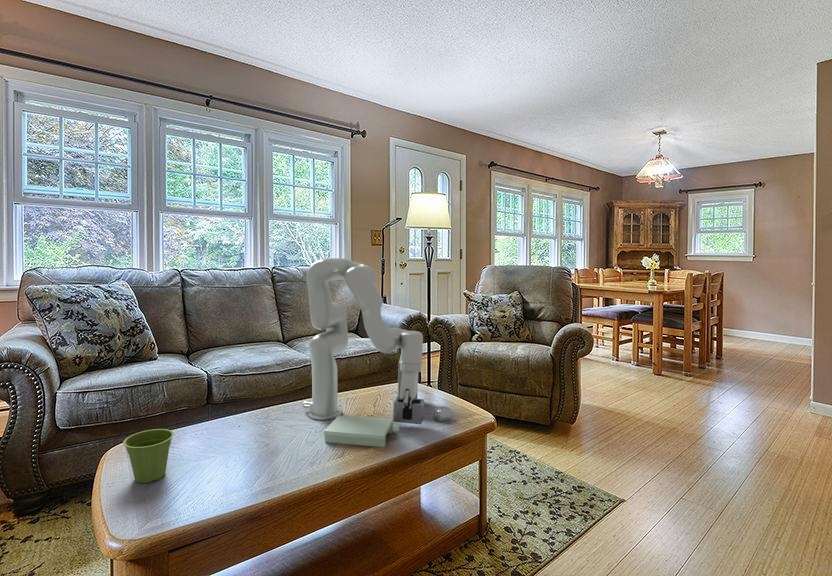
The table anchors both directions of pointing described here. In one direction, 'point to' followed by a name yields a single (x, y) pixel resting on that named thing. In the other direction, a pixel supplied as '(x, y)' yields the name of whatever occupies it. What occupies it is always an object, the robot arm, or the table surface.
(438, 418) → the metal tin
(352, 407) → the table surface
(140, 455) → the plant pot
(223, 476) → the table surface
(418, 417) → the housing
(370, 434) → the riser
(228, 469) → the table surface
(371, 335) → the robot arm
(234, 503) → the table surface
